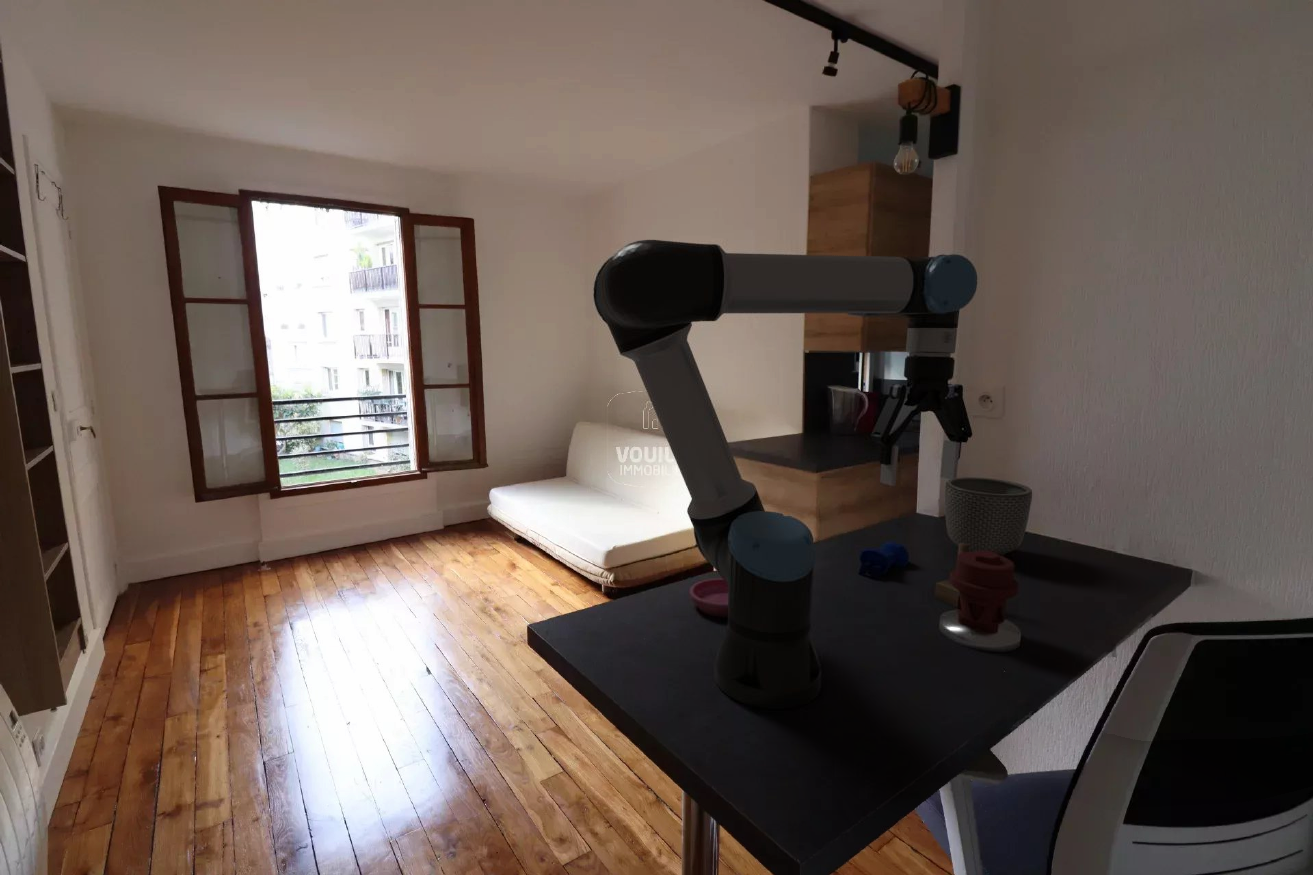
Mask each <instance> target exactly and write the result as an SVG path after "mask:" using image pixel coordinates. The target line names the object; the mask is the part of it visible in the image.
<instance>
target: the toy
mask: <svg viewBox="0 0 1313 875" xmlns="http://www.w3.org/2000/svg"><path fill="white" fill-rule="evenodd" d="M859 561H860V568H859V571H858V575H860V576H863V577H864V576H866V574H867V572H868V573H870V574H872V578H873V580H877V581H880V579H881V576H882V575H885V574H887V572H888V571H889V569H890V567H891V566H892V567H895V568H896V567H897V568H904V567H906V566H908V562H909V552H908V550H907V548H906V547H905V546H904V545H902V543H899V542H897V541H896V542H895V541H887V542H885V543H884V544H883V545H882V546H880V548H879V549H878V548H876V549H875V548H866V549H863V550H861V552H860V555H859Z"/></svg>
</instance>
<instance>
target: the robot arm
mask: <svg viewBox="0 0 1313 875" xmlns="http://www.w3.org/2000/svg"><path fill="white" fill-rule="evenodd" d="M977 288H978V272H977V270H976V267H975V266H974V264H973V263H972V262H971V261H970V259H968V258H967V257H965V256H963V255H961V254H956V253H955V254H954V253H953V254H952V253H951V254H938V255H936V256H926V257H920V256H919V257H915V256H914V257H911V256H910V257H909V256H906V257H901V256H872V255H871V256H867V255H831V254H830V255H827V254H825V255H824V254H823V255H822V254H781V253H776V254H775V253H773V254H772V253H739V252H738V253H736V252H735V253H733V252H731V253H729V252H726V251H725V250H724V249H723V248H722V247H721V245H720V244H715V243H714V244H713V243H706V244H705V243H695V242H682V241H681V242H680V241H670V240H663V239H661V240H660V239H644V240H643V239H642V240H637V241H633V242H631V243H628V244H626V245H625V246H623V247H621V248H620V249H619V250H618V251H617V252H616V253H614V255H612V256H610V257H609V258H608V259H607V260H606V261H604V263H603V264H602V265H601V267H600V269H599V270H598V271H597V273H596V277H595V279H594V283H593V294H592V295H593V302H594V305H595V308H596V311H597V313H598V315H599V316H600V317H601V319H602V321H604V323H605V324H606V325H607V326H608V328H609V331H610V334H611V335H612V339H613V340H614V344H616V347H617V350H618V352H619V355H621V357H622V356H623V357H625V358H627V359H629V360H631V361H633V362H634V364H635V367H636V369H637V372H638V374H639V376H640V379H641V381H642V383H643V385H644V388H645V390H646V394H647V395H648V397H649V400H650V403H651V405H652V407H653V410H654V411H655V415H656V416H657V419H658V421H659V424H660V426H661V429H662V430H663V433H664V436H665V438H666V441H667V443H668V446H669V447H670V450H671V452H672V454H673V457H674V459H675V462H676V465H677V467H678V470H679V471H680V472H679V473H680V474H681V476H682V479H683V481H684V483H685V486H686V488H687V491H688V493H689V495H690V498H691V500H690V501H689V504H688V507H687V509H686V513H687V516H688V517H689V520H690V521H691V522H690V523H691V525H692V527H693V536H694V540H695V544H696V547H697V549H698V551H699V552H700V554H701V555H702V557H703V558H704V559H705V560H706V562H708V563H709V564H710V565H711V566H712V567H713V568H714V570H716V572H717V573H718V574H719V576H721V578H723V579H724V581H725V582H726V583H727V584H728V617H727V625H726V629H725V632H724V634H723V636H722V637H723V638H722V639H721V641H720V645H719V648H718V650H717V653H716V654H715V655H716V656H715V659H714V679H715V683H716V685H717V686H718V688H719V689H720V690H721V691H722V692H723V693H725V694H726V695H727V696H729V697H730V698H732V699H734V700H736V701H738V702H740V703H742V704H744V705H748V706H752V707H755V708H762V709H768V710H770V709H771V710H784V709H792V708H797V707H800V706H803V705H804V706H805V705H806V704H808V703H810V702H811V701H813V700H814V699H816V697H817V696H818V695H819V693H820V691H821V688H822V668H821V664H820V661H819V656H818V654H817V651H816V646H815V644H814V640H813V637H812V634H811V628H812V626H811V624H812V602H813V586H814V585H813V584H814V567H815V566H814V565H815V562H816V552H815V546H814V544H815V542H814V536H813V533H812V531H811V529H810V528H809V526H807V525H806V523H804V522H803V521H801V520H799V519H797V518H796V517H793V516H791V515H784V514H783V513H782V512H775V511H769V510H768V511H767V510H765V508H764V506H763V503H762V501H761V497H760V495H759V492H758V490H757V488H756V485H755V484H754V483H753V482H750V481H748V480H745V479H743V478H742V476H741V473H740V470H739V468H738V465H737V463H736V460H735V458H734V456H733V453H732V449H731V448H730V445H729V443H728V440H727V438H726V435H725V433H724V429H723V428H722V424H721V422H720V420H719V418H718V415H717V413H716V409H715V408H714V407H715V406H714V405H713V402H712V399H711V398H710V395H709V392H708V388H707V387H706V384H705V381H704V379H703V376H702V374H701V372H700V369H699V366H698V364H697V361H696V359H695V356H694V354H693V351H692V348H691V346H690V344H689V341H688V337H689V334H690V332H691V330H692V326H693V323H695V322H696V323H697V322H717V321H718V320H719V319H720V317H721V316H723V315H724V314H847V315H849V316H857V317H862V318H865V317H875V318H877V317H878V318H879V317H881V318H907V333H906V341H905V343H906V344H905V351H906V352H907V353H908V355H907V356H906V357H905V358H904V368H903V369H904V370H903V376H904V377H905V379H906V383H905V384H896V383H895V384H894V383H892V384H891V385H890V386H889V391H888V398H887V400H886V402H885V404H884V405H883V408H882V410H881V412H880V414H879V416H878V419H877V421H876V423H875V426H874V427H873V429H872V432H871V434H870V440H871V441H873V442H874V441H875V443H877V444H879V446H880V447H879V457H878V458H879V460H878V461H879V464H880V465H881V466H880V477H879V482H880V483H881V484H885V485H888V486H891V487H892V486H893V487H894V486H896V481H897V472H898V460H899V459H898V457H899V445H896V443H897V441H898V440H899V438H900V437H901V436H902V435H903V433H904V431H905V430H906V429H907V427H908V426H909V425H910V423H911V422H912V421H913V419H914V418H915V417H916V416H917V415H919V414H921V413H927V412H932V413H933V414H934V416H935V417H936V419H937V421H938V423H939V425H940V427H941V428H942V430H943V432H944V434H945V435H946V437H947V438H948V439H945V440H943V445H942V447H943V448H942V455H941V456H942V457H941V466H940V478H942V479H943V478H944V479H947V480H950V479H951V480H956V478H958V476H957V475H958V468H959V460H960V458H961V454H962V453H961V451H962V443H963V444H964V443H965V444H966V443H967V442H968V441H969V438H972V436H973V430H972V427H971V422H970V419H969V415H968V412H967V406H966V405H965V401H964V393H963V392H964V386H963V385H962V384H958V383H949V381H951V380H952V379H953V378H954V372H955V360H956V359H955V357H953V356H952V357H951V355H952V354H955V353H956V346H957V337H958V336H957V335H958V326H959V317H960V310H961V309H963V308H965V307H966V306H967V305H969V304H970V302H972V300H973V298H974V297H975V294H976V292H977Z"/></svg>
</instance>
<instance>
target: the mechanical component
mask: <svg viewBox="0 0 1313 875" xmlns="http://www.w3.org/2000/svg"><path fill="white" fill-rule="evenodd" d="M1015 565H1016V564H1015V563H1014V562H1013V560H1011V559H1008V558H1007V557H1005V556H1004V557H1002V556H999V555H998V554H996V553H994V552H991V551H986V550H976V551H974V552H964V553H961V554H959V555H958V554H957V556H956V565H955V566H956V568H955V569H953V570H952V571H950V574H949V579H950V583H951V584H952V585H953V586H954V587H955V588H956V589H957V590H959V595H958V608H957V607H956V610H957V612H958V622H959V623H960V624H964V625H969V626H974V627H978V628H981V629H983V630H986V631H988V632H991V633H997V632H998V626H999V624H1001V623H1003V622H1004V620H1005V619H1006V609H1007V600H1008V599H1011V598H1014V597H1016V596H1017V595H1018V594H1019V588H1020V587H1019V586H1020V585H1019V584H1020V583H1019V582H1018V581H1017V580H1016V579H1015V578H1014V576H1015Z"/></svg>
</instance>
